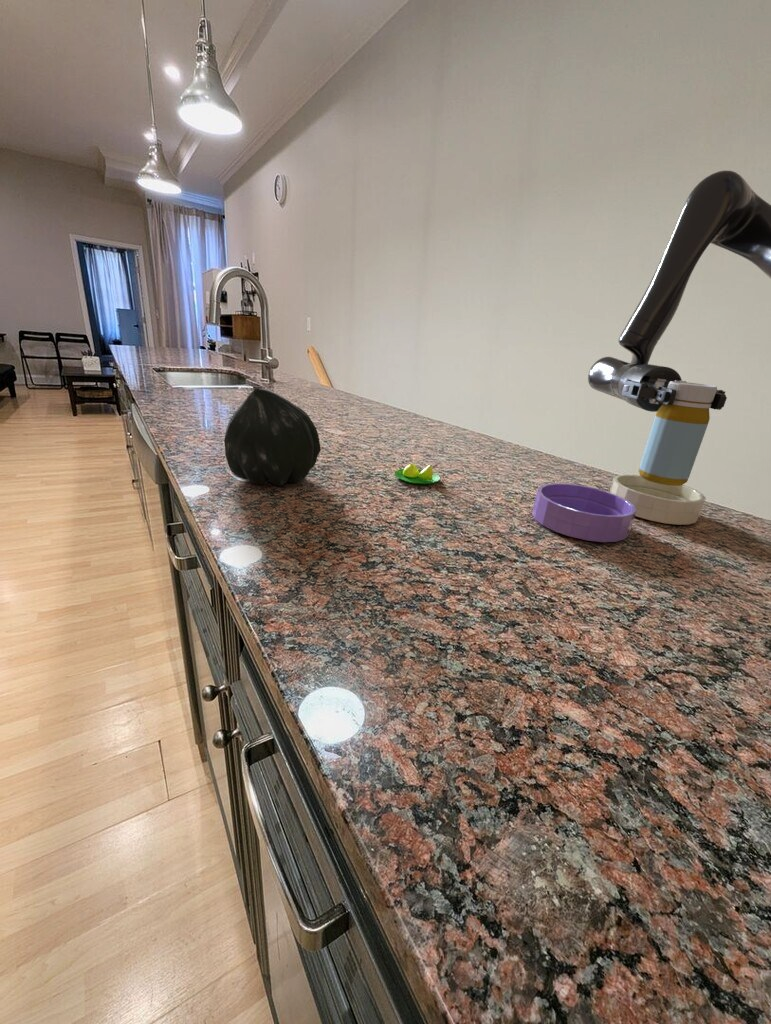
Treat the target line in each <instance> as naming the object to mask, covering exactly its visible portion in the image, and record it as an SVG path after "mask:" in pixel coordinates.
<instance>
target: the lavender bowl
mask: <svg viewBox="0 0 771 1024" xmlns="http://www.w3.org/2000/svg"><path fill="white" fill-rule="evenodd" d="M531 515H532V516H533V519H534V520H535V522H538V523H539V524H540V525H541V526H543V527H545V528H547V529H549V530H552V531H553V532H555V533H558V534H560V535H564V536H567V537H569V538H570V537H571V538H575V539H578V540H579V539H580V540H582V541H583V540H584V541H590V542H597V543H615V542H620V541H624V540H626V539H627V538H628V537H629V536H630V533H631V529H632V527H633V524H634V520H635V517H636V516H635V515H636V507H635V506H634V505H633V504H632V503H631V502H629V501H628V500H626V499H624V498H622V497H620V496H618V495H615V494H612V493H610V492H609V491H607V490H603V489H600V488H596V487H593V486H587V485H582V484H574V483H567V482H566V483H565V482H563V483H562V482H555V483H554V482H552V483H545V484H544V483H543V484H542V485H540V486H538V488H537V490H536V495H535V498H534V503H533V506H532V512H531Z"/></svg>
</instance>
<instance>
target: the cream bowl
mask: <svg viewBox="0 0 771 1024" xmlns="http://www.w3.org/2000/svg"><path fill="white" fill-rule="evenodd" d="M608 492H610V493H612V494H615V495H618V496H620V497H622V498H624V499H626V500H628V501H629V502H631V503H632V504H633V505H634V506H635V507H636V515H635V517H637V518H640V519H643V520H646V521H651V522H656V523H662V524H668V525H675V526H676V525H681V526H682V525H692V524H696V523H697V522H698V520H699V517H700V515H701V513H702V510H703V507H704V505H705V502H706V500H707V497H706V496H705V494H704V493H702V492H701V491H699V490H697V489H695V488H693V487H690V486H688V485H685V484H683V485H680V486H670V485H663V484H659V483H654V482H651V481H648V480H646V479H644V478H642V477H641V476H640V474H619V475H615V476H614V477H613V478H612V481H611V485H610V488H609V491H608Z"/></svg>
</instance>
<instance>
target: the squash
mask: <svg viewBox="0 0 771 1024" xmlns="http://www.w3.org/2000/svg"><path fill="white" fill-rule="evenodd" d="M223 441H224V443H223V444H224V454H225V459H226V462H227V465H228V468H229V470H230V471H231V473H232V474H234V475H235V476H236V477H238V478H239V479H243V480H247V481H249V482H251V483H253V484H257V485H264V484H266V483H268V482H271V483H272V484H273V485H275V486H283V485H285V484H286V483H287V482H289V483H298V482H301V481H303V480H304V479H305V478H306V477H307V476H308V475H309V474H310V471H311V469H312V468H314V467H315V465H316V463H317V459H318V457H319V455H320V453H321V449H322V448H321V441H320V436H319V433H318V430H317V427H316V425H315V423H314V421H313V420H312V419H311V417H310V416H309V414H308V413H307V412H305V410H303V409H302V408H301V407H300V406H297V405H296V404H294V403H293V402H291V401H289V400H288V399H287V398H285V397H284V396H282V395H279V394H278V393H276V392H273V391H272V390H269V389H267V388H266V389H265V388H258V387H255V388H254V389H253V390H252V391H251V392H250V393H249V394H248V396H246V398H245V400H243V402H242V403H241V405H240V406H239V407H238V408H237V409H236V410H235V411H234V413H233V414H232V416H231V417H230V419H229V421H228V424H227V426H226V430H225V434H224V440H223Z"/></svg>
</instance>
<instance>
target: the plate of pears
mask: <svg viewBox="0 0 771 1024" xmlns="http://www.w3.org/2000/svg"><path fill="white" fill-rule="evenodd" d="M393 475H394V476H395V477H396V478H398V479H400V480H401V481H403V482H405V483H408V484H413V485H430V484H433V483H437V482H439V481H440V479H441V478H440V475H438V474H437V473H434V469H433V467H432V465H431V464H428V465H427V466H426V467H424V468H423V469H420V468H418V467H417V466H416V465H415V463H414V462H410V464H408V465H406V466H405V467H404V468H401V469H398V470H396V471H395V472H394V474H393Z"/></svg>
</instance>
